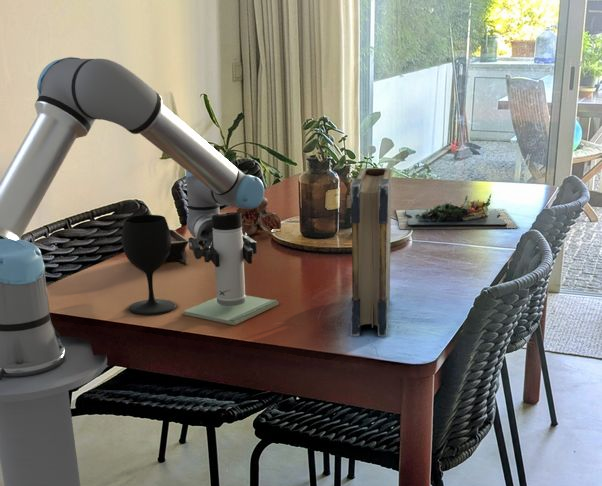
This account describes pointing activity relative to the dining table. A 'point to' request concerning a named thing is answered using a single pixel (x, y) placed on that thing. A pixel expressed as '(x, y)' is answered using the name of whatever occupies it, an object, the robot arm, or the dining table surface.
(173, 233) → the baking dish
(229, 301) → the travel mug
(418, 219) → the plated dish
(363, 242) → the decorative book
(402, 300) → the dining table surface
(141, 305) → the wine glass
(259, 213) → the seed pod
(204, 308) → the pale green notebook
